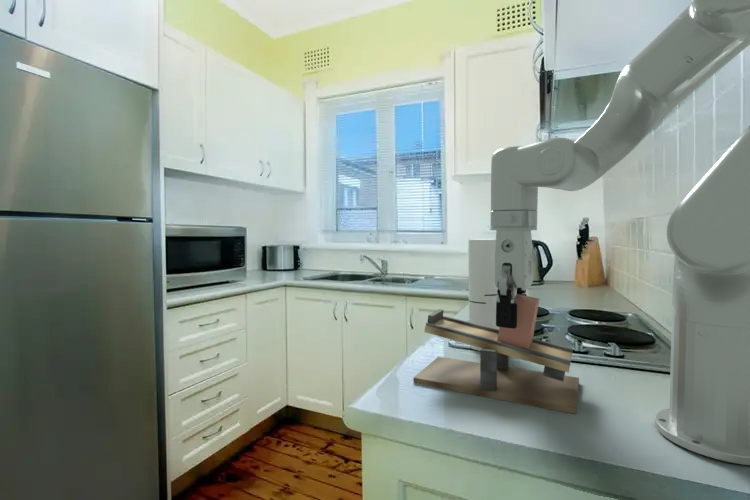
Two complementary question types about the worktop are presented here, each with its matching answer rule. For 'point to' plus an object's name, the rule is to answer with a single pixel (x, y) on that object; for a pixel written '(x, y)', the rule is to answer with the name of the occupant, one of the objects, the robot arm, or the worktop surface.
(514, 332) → the block
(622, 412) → the worktop surface
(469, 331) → the beam
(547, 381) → the stand
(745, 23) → the robot arm
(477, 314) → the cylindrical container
